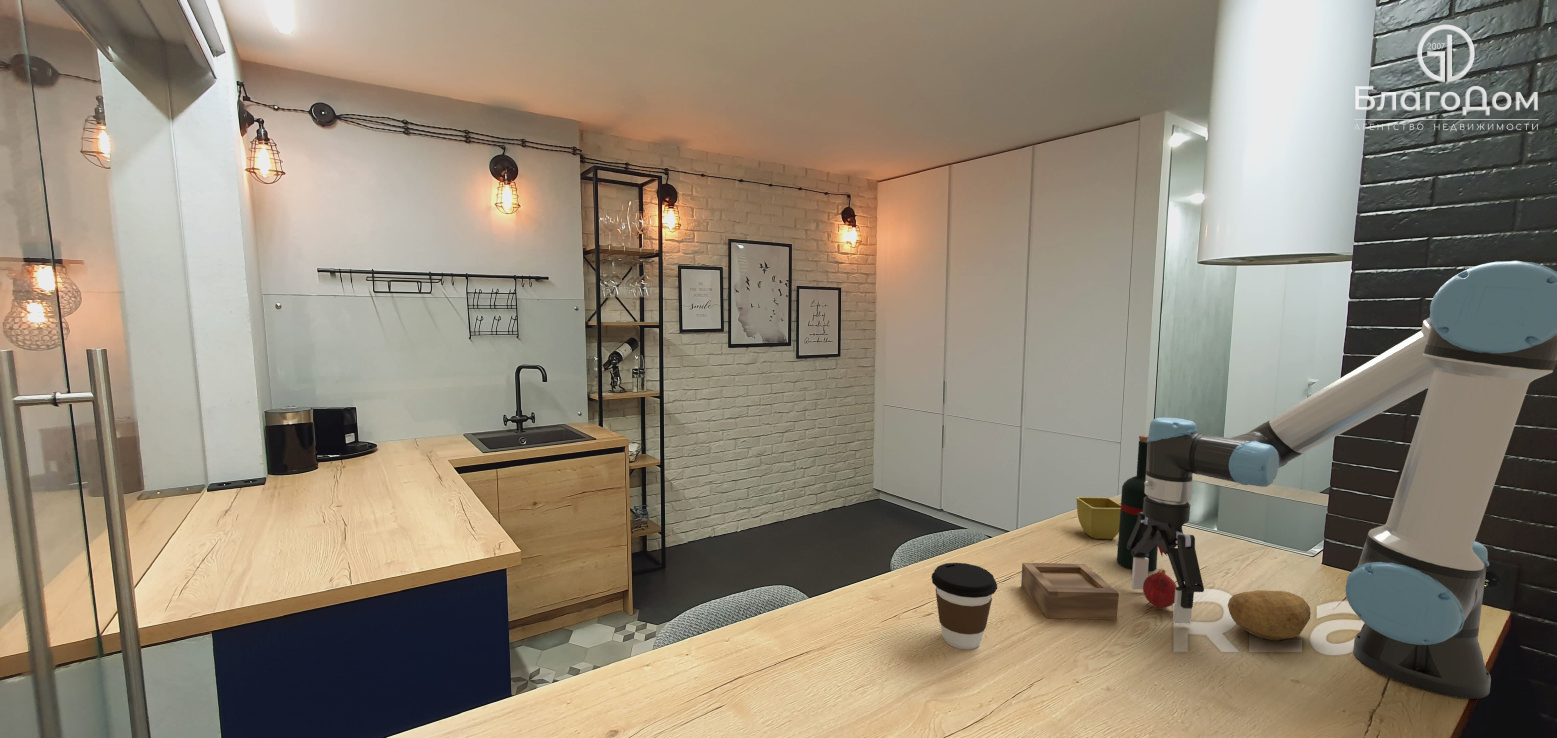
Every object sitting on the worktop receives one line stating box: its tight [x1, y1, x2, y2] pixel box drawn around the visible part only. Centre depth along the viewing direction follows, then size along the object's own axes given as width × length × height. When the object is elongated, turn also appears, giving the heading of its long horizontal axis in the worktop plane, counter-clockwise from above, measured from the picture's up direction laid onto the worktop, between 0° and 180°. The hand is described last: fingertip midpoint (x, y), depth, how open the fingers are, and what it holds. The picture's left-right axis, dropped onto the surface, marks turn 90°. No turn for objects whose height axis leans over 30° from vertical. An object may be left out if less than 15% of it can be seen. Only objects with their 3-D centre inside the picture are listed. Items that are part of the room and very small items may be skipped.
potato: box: [1227, 589, 1312, 641], centre depth 107 cm, size 10×14×8 cm
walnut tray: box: [1020, 562, 1120, 620], centre depth 119 cm, size 13×13×5 cm
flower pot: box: [1075, 496, 1121, 540], centre depth 155 cm, size 9×9×9 cm
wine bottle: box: [1116, 435, 1168, 573], centre depth 135 cm, size 8×10×30 cm
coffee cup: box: [931, 562, 998, 650], centre depth 104 cm, size 11×11×12 cm
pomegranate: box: [1142, 568, 1178, 610], centre depth 116 cm, size 6×6×8 cm
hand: (1159, 604), depth 117 cm, fingers open, 13 cm apart
